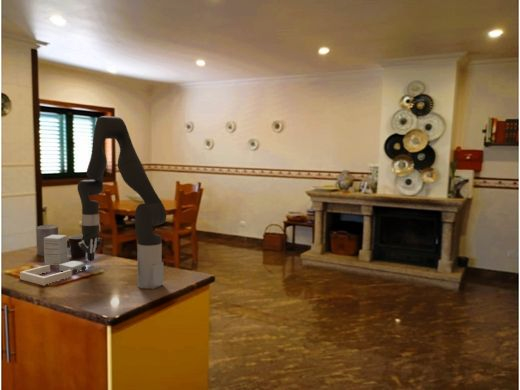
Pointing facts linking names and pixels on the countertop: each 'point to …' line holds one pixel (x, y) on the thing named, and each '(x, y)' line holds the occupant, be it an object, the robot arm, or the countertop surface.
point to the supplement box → (55, 249)
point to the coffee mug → (76, 247)
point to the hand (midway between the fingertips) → (90, 260)
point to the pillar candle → (42, 233)
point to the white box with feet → (72, 266)
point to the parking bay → (35, 278)
